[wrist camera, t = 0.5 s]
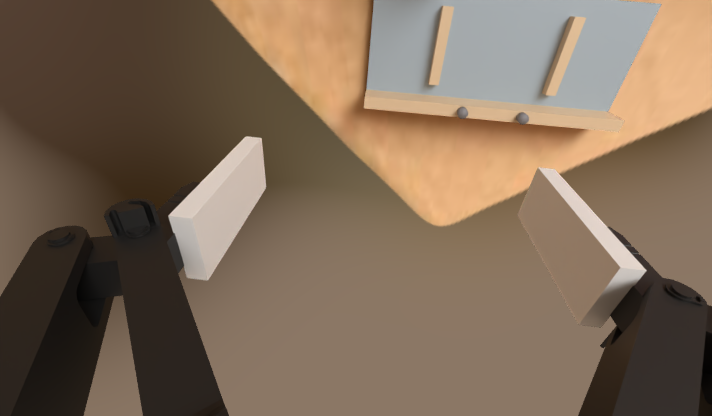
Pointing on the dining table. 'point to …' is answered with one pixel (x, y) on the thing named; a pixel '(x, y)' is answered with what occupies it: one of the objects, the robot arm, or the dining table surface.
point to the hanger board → (505, 58)
